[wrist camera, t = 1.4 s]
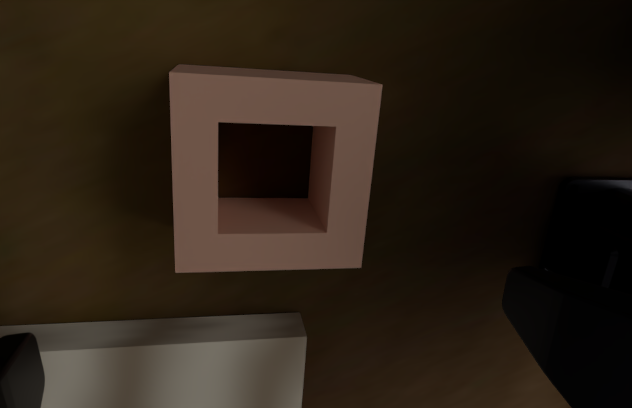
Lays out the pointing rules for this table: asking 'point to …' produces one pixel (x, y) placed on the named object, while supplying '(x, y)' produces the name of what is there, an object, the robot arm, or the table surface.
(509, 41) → the table surface
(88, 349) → the post stand
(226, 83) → the collar
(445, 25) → the table surface
